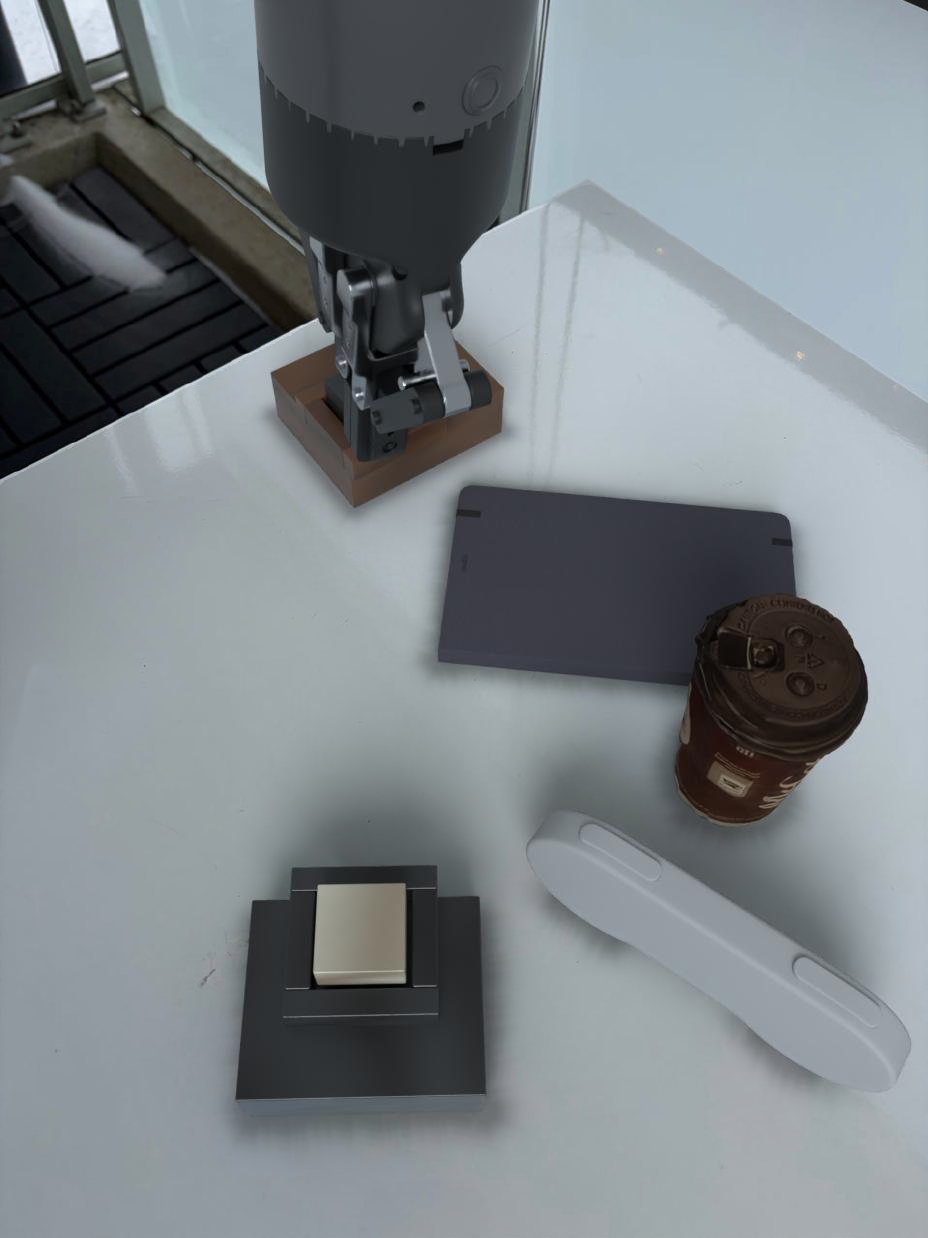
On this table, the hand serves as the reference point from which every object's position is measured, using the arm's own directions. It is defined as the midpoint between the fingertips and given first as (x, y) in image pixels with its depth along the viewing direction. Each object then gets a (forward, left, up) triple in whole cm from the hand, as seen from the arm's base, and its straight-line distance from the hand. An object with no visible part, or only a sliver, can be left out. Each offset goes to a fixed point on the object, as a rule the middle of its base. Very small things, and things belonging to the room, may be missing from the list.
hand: (375, 444), depth 45 cm
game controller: (+4, -21, -22) cm, 31 cm away
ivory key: (-10, -12, -16) cm, 23 cm away
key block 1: (+12, +19, -22) cm, 31 cm away
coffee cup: (+13, -14, -22) cm, 29 cm away
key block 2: (-11, -14, -22) cm, 28 cm away
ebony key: (+9, +16, -16) cm, 24 cm away
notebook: (+16, -1, -22) cm, 27 cm away
